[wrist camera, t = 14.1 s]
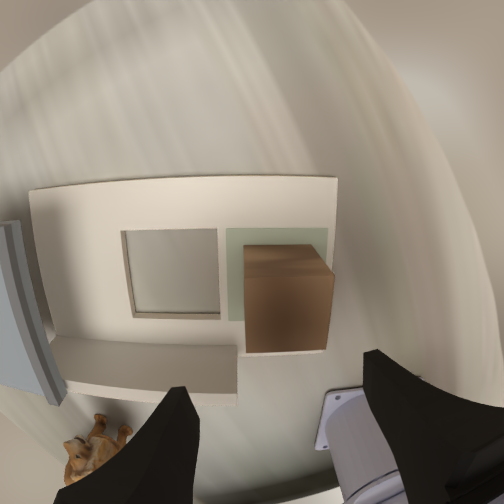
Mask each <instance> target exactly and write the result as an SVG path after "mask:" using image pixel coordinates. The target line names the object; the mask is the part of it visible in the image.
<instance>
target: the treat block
mask: <svg viewBox="0 0 504 504" xmlns="http://www.w3.org/2000/svg"><path fill="white" fill-rule="evenodd" d="M243 258H244V319H245V345H246V353H273V352H295V351H311V350H325V349H326V346H327V339H328V331H329V324H330V316H331V307H332V299H333V289H334V279H335V275H334V274H333V272H332V271H331V270H330V268H329V267H328V266H327V264H326V263H325V262H324V260H323V259H322V258H321V256H320V255H319V254H318V253H317V251H316V250H315V249H314V247H313V246H312V245H311V244H288V245H243Z"/></svg>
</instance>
